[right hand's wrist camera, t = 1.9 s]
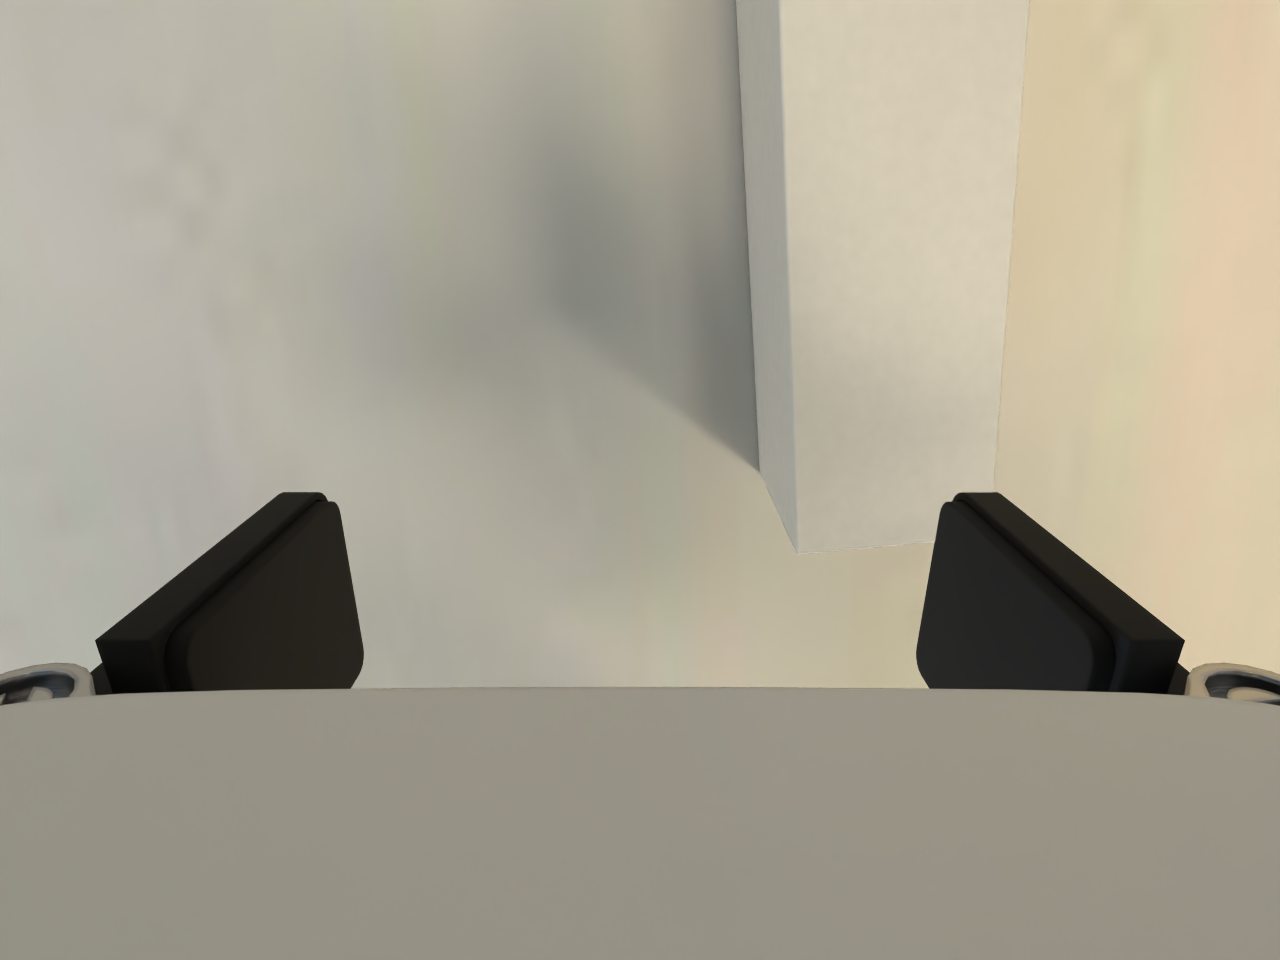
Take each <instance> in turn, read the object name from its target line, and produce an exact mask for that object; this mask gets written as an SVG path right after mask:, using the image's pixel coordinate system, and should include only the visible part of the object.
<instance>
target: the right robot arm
mask: <svg viewBox="0 0 1280 960" xmlns="http://www.w3.org/2000/svg"><path fill="white" fill-rule="evenodd" d="M95 642H96V645H97V648H98V651H99V654H100V657H101V660H102V663H101V664H100V665H99V666H98V667H96V668H95V669H94V670H93V671H92V672H91V673H90V672H89V671H88V670H87V668H84V667H82V666H79V665H76V664H70V663H50V664H41V665H33V666H29V667H25V668H21V669H17V670H13V671H9V672H6V673H3V674H0V960H1280V674H1277V673H1274V672H1271V671H1267V670H1263V669H1259V668H1255V667H1251V666H1247V665H1239V664H1230V663H1210V664H1204V665H1201V666H1198V667H1196V668H1193V670H1192V671H1191V672H1190V673H1189V672H1188V671H1187V670H1186V669H1185V668H1184V667H1182V666H1181V665H1180V664H1179V663H1178V660H1179V657H1180V654H1181V651H1182V648H1183V645H1184V642H1185V640H1184V639H1182V638H1181V637H1180V636H1179V635H1177V634H1176V633H1175V632H1174V631H1172V630H1171V629H1170V628H1169V627H1167V626H1166V625H1165V624H1164V623H1162V622H1161V621H1160V620H1159V619H1157V618H1156V617H1155V616H1153V615H1152V614H1151V613H1150V612H1148V611H1147V610H1146V609H1145V608H1143V607H1142V606H1141V605H1140V604H1138V603H1137V602H1136V601H1135V600H1133V599H1132V598H1131V597H1130V596H1128V595H1127V594H1126V593H1125V592H1123V591H1122V590H1121V589H1120V588H1118V587H1117V586H1116V585H1114V584H1113V583H1112V582H1111V581H1109V580H1108V579H1107V578H1106V577H1104V576H1103V575H1102V574H1101V573H1099V572H1098V571H1097V570H1096V569H1094V568H1093V567H1092V566H1091V565H1089V564H1088V563H1087V562H1086V561H1084V560H1083V559H1082V558H1081V557H1079V556H1078V555H1077V554H1075V553H1074V552H1073V551H1072V550H1070V549H1069V548H1068V547H1067V546H1065V545H1064V544H1063V543H1062V542H1060V541H1059V540H1058V539H1057V538H1055V537H1054V536H1053V535H1052V534H1050V533H1049V532H1048V531H1047V530H1045V529H1044V528H1043V527H1042V526H1040V525H1039V524H1038V523H1036V522H1035V521H1034V520H1033V519H1031V518H1030V517H1029V516H1028V515H1026V514H1025V513H1024V512H1023V511H1021V510H1020V509H1019V508H1018V507H1016V506H1015V505H1014V504H1013V503H1011V502H1010V501H1009V500H1008V499H1006V498H1005V497H1004V496H1003V495H1001V494H999V493H997V492H961V493H958V494H957V495H955V496H954V498H953V500H952V502H945V503H944V504H943V505H942V507H941V510H940V514H939V520H938V526H937V532H936V538H935V544H934V549H933V555H932V561H931V567H930V573H929V579H928V585H927V590H926V596H925V602H924V608H923V614H922V620H921V625H920V631H919V637H918V643H917V650H916V659H917V665H918V669H919V671H920V673H921V675H922V677H923V679H924V680H925V682H926V684H927V685H928V687H929V689H895V688H775V687H477V688H382V689H351V687H352V685H353V684H354V682H355V680H356V679H357V677H358V675H359V673H360V671H361V669H362V665H363V659H364V650H363V643H362V637H361V631H360V625H359V620H358V614H357V608H356V602H355V596H354V590H353V585H352V579H351V573H350V567H349V561H348V555H347V549H346V544H345V538H344V532H343V526H342V520H341V514H340V510H339V507H338V505H337V504H336V503H335V502H328V500H327V498H326V496H325V495H323V494H322V493H319V492H283V493H281V494H279V495H277V496H276V497H275V498H274V499H272V500H271V501H270V502H269V503H267V504H266V505H265V506H264V507H262V508H261V509H260V510H259V511H257V512H256V513H255V514H254V515H252V516H251V517H250V518H249V519H247V520H246V521H245V522H244V523H242V524H241V525H240V526H238V527H237V528H236V529H235V530H233V531H232V532H231V533H230V534H228V535H227V536H226V537H225V538H223V539H222V540H221V541H220V542H218V543H217V544H216V545H215V546H213V547H212V548H211V549H210V550H208V551H207V552H206V553H205V554H203V555H202V556H201V557H199V558H198V559H197V560H196V561H194V562H193V563H192V564H191V565H189V566H188V567H187V568H186V569H184V570H183V571H182V572H181V573H179V574H178V575H177V576H176V577H174V578H173V579H172V580H171V581H169V582H168V583H167V584H166V585H164V586H163V587H162V588H160V589H159V590H158V591H157V592H155V593H154V594H153V595H152V596H150V597H149V598H148V599H147V600H145V601H144V602H143V603H142V604H140V605H139V606H138V607H137V608H135V609H134V610H133V611H132V612H130V613H129V614H128V615H127V616H125V617H124V618H123V619H121V620H120V621H119V622H118V623H116V624H115V625H114V626H113V627H111V628H110V629H109V630H108V631H106V632H105V633H104V634H103V635H101V636H100V637H99V638H98V639H96V640H95Z"/></svg>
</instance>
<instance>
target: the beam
mask: <svg viewBox="0 0 1280 960" xmlns="http://www.w3.org/2000/svg"><path fill="white" fill-rule="evenodd" d="M1029 7H1030V0H736V14H737V33H738V53H739V73H740V92H741V112H742V132H743V152H744V171H745V191H746V211H747V231H748V250H749V270H750V290H751V309H752V329H753V349H754V369H755V388H756V408H757V428H758V447H759V467H760V474H761V476H762V479H763V481H764V483H765V485H766V487H767V490H768V492H769V494H770V496H771V498H772V500H773V503H774V505H775V507H776V509H777V511H778V514H779V516H780V518H781V520H782V522H783V525H784V527H785V529H786V531H787V533H788V536H789V538H790V540H791V542H792V544H793V547H794V549H795V551H796V553H797V554H810V553H821V552H831V551H842V550H853V549H864V548H875V547H885V546H896V545H907V544H918V543H929V542H935V538H936V532H937V526H938V520H939V514H940V510H941V507H942V505H943V504H944V503H945V502H952V500H953V498H954V496H955V495H957V494H958V493H961V492H994V481H995V467H996V454H997V440H998V427H999V413H1000V400H1001V386H1002V373H1003V359H1004V345H1005V332H1006V318H1007V305H1008V291H1009V278H1010V264H1011V251H1012V237H1013V223H1014V210H1015V196H1016V183H1017V169H1018V156H1019V142H1020V129H1021V115H1022V101H1023V88H1024V74H1025V61H1026V47H1027V34H1028V20H1029Z"/></svg>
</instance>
